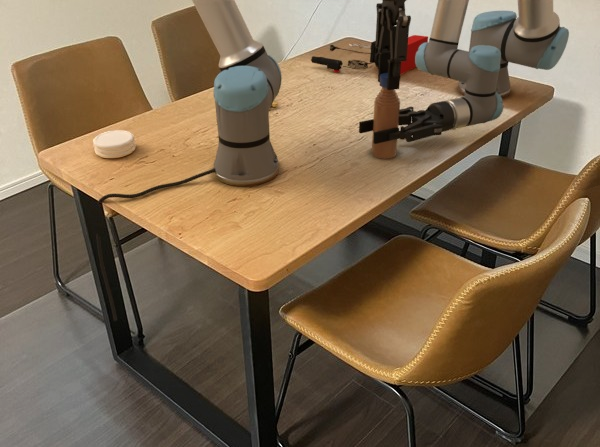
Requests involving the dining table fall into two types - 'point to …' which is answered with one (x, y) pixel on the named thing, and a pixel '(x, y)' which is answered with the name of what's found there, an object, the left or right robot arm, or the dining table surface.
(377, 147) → the bottle
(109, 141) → the coaster
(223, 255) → the dining table surface
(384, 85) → the cap
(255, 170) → the left robot arm
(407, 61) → the electric hoist
